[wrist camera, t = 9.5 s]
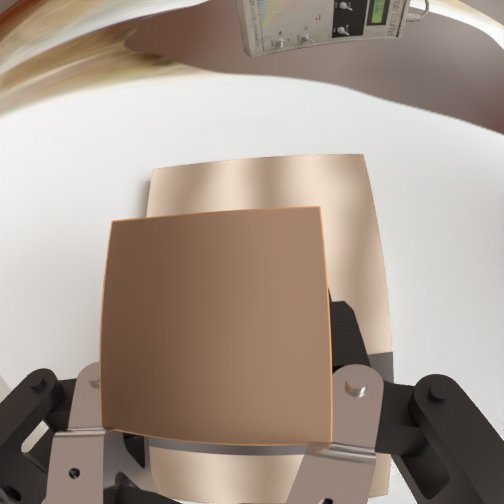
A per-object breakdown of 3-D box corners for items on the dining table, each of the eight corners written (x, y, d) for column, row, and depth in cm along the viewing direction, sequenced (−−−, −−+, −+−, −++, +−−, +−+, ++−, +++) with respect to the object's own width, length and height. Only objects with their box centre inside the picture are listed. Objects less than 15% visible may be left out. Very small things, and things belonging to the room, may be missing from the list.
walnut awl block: (299, 298, 17) (320, 205, 6) (302, 385, 15) (332, 442, 5) (214, 301, 17) (111, 220, 7) (214, 385, 16) (101, 427, 5)
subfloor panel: (359, 165, 23) (363, 152, 21) (381, 486, 15) (388, 495, 14) (159, 178, 24) (151, 168, 23) (153, 486, 17) (144, 494, 15)
